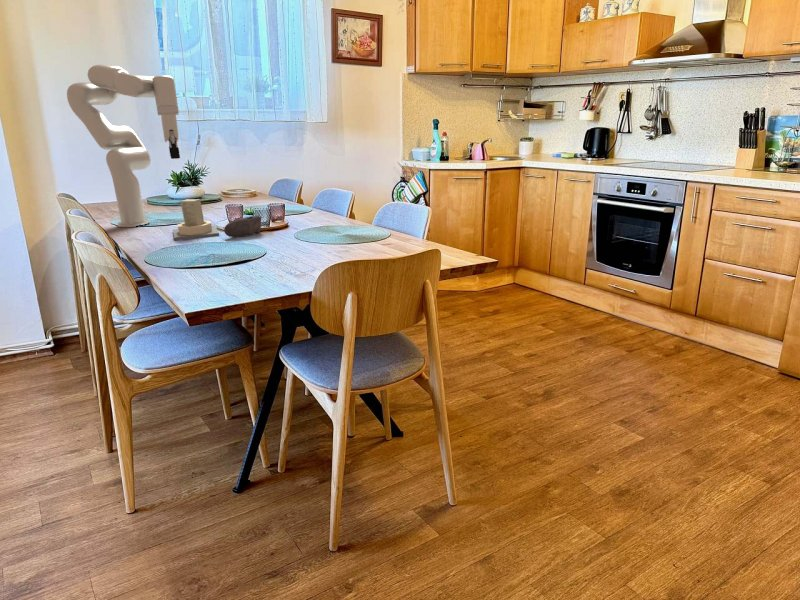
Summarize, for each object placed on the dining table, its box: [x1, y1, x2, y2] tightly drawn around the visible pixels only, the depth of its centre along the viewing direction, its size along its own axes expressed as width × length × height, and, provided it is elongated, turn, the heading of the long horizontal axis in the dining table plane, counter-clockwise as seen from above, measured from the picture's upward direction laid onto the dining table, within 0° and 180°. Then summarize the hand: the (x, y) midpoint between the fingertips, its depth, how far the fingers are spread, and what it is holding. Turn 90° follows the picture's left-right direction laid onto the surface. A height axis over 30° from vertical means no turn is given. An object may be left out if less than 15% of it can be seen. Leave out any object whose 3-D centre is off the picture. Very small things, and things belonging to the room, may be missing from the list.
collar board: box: [172, 220, 220, 241], centre depth 217 cm, size 16×16×4 cm
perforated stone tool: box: [223, 215, 262, 238], centre depth 212 cm, size 15×5×7 cm, turn 122°
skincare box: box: [180, 198, 205, 226], centre depth 216 cm, size 6×4×12 cm
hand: (175, 157), depth 217 cm, fingers open, 9 cm apart
